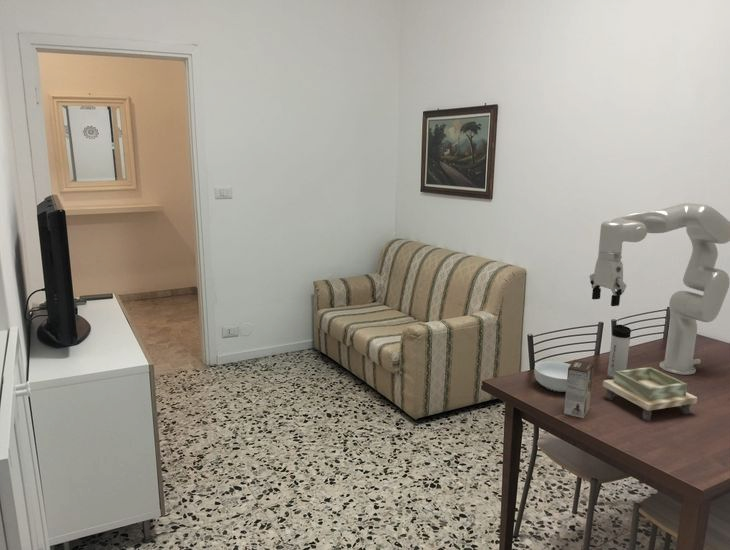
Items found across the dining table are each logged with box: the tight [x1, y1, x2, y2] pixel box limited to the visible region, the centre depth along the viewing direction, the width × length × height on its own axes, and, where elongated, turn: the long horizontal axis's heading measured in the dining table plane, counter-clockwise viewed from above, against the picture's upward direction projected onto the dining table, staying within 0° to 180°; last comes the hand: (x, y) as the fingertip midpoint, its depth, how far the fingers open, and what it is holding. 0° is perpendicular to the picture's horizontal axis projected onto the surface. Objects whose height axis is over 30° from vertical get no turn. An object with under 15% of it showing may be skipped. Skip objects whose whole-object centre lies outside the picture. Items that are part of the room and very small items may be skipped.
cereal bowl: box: [533, 360, 571, 393], centre depth 200 cm, size 17×17×7 cm
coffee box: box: [563, 359, 595, 419], centre depth 181 cm, size 9×6×16 cm
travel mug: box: [607, 324, 632, 380], centre depth 209 cm, size 6×7×20 cm
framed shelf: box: [602, 366, 698, 422], centre depth 187 cm, size 20×20×10 cm
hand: (605, 302), depth 202 cm, fingers open, 9 cm apart
